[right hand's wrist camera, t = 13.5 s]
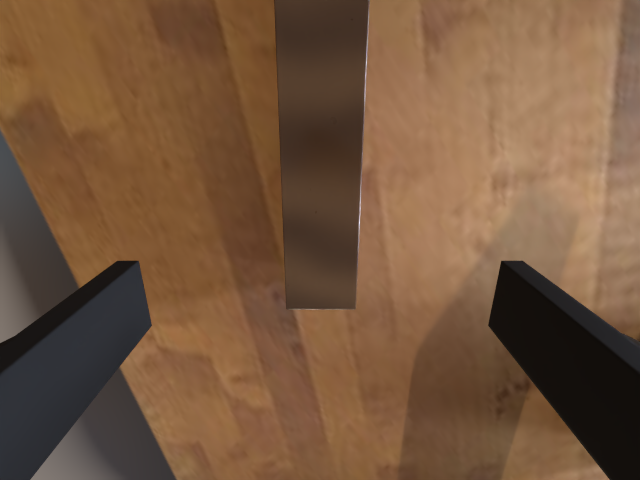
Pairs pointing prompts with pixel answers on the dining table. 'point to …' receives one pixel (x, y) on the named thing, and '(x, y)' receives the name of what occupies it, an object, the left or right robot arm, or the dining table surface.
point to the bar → (321, 146)
